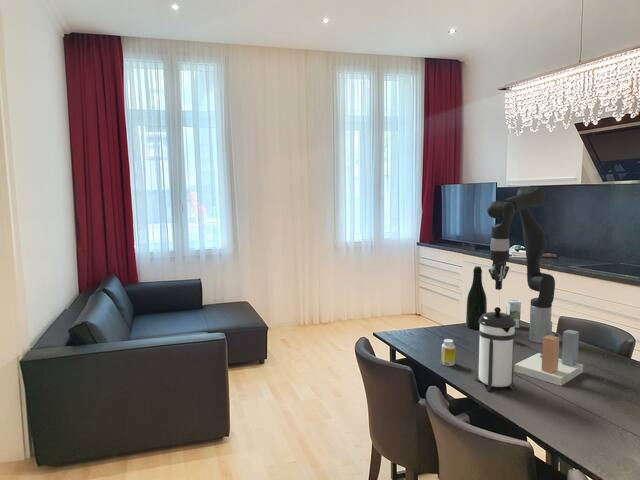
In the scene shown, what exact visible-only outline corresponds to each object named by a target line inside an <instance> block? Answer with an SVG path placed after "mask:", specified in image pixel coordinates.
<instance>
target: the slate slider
mask: <svg viewBox="0 0 640 480" xmlns="http://www.w3.org/2000/svg"><path fill="white" fill-rule="evenodd" d="M579 336H580V332H579V331H577V330H573V329H567V330H565V331H562V351H561V359H562V364H566V365H570V366H573V365H575V364H577V363H578V364H579V362H578V358H579V341H580V339H579V338H580V337H579Z"/></svg>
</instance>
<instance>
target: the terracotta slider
mask: <svg viewBox="0 0 640 480" xmlns="http://www.w3.org/2000/svg"><path fill="white" fill-rule="evenodd" d="M559 351H560V336H559V337H556V336H551V335H548V336H545V337H543V343H542V351H541V354H542V370H543V371H546V372H550V373H553V372H555V371H557V370H558V358H559V356H560V355H559V354H560V353H559Z"/></svg>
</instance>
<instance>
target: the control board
mask: <svg viewBox="0 0 640 480" xmlns="http://www.w3.org/2000/svg"><path fill="white" fill-rule="evenodd" d="M514 372H515V373H517V374H521V375H524V376H528V377H531V378H535V379H537V380H541V381H543V382H547V383H551V384H554V385H557V386H559V387H561V386H563V385H565V384H566V383H568V382H569V381H571V380H572V379H574V378H576V377H578V376H579V375H580V374H582V373H584V364H581V363H579V362H578V363H577V364H575V365H573V366H570V365H566V364H562V358H559V357H558V370H557V371H555V372H553V373H550V372H546V371H543V370H542V353H540V352H537V353H536V354H534V355H531V356H529V357H527V358H524V359H523V360H521V361H519V362H517V363H514Z"/></svg>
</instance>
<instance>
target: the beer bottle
mask: <svg viewBox="0 0 640 480" xmlns="http://www.w3.org/2000/svg"><path fill="white" fill-rule="evenodd" d="M472 272H473V275H472V284H471V287H470V289H469V291H468V294H467V297H466V298H467V299H466V312H465V313H466V314H465V315H466V317H465V327H466V328H468V329H471V330H478V331H479V328H480V323H479V319H480V318H481V316H482V315H483V314H485V313H488V311H487V310H488V307H487V305H488V302H487V301H488V299H487V294H486V291H485V289H484V286H483V277H482V275H483V274H482V273H483V269H482V267H481V266H478V265H477V266H476V265H475V266H474V268H473V270H472Z"/></svg>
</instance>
